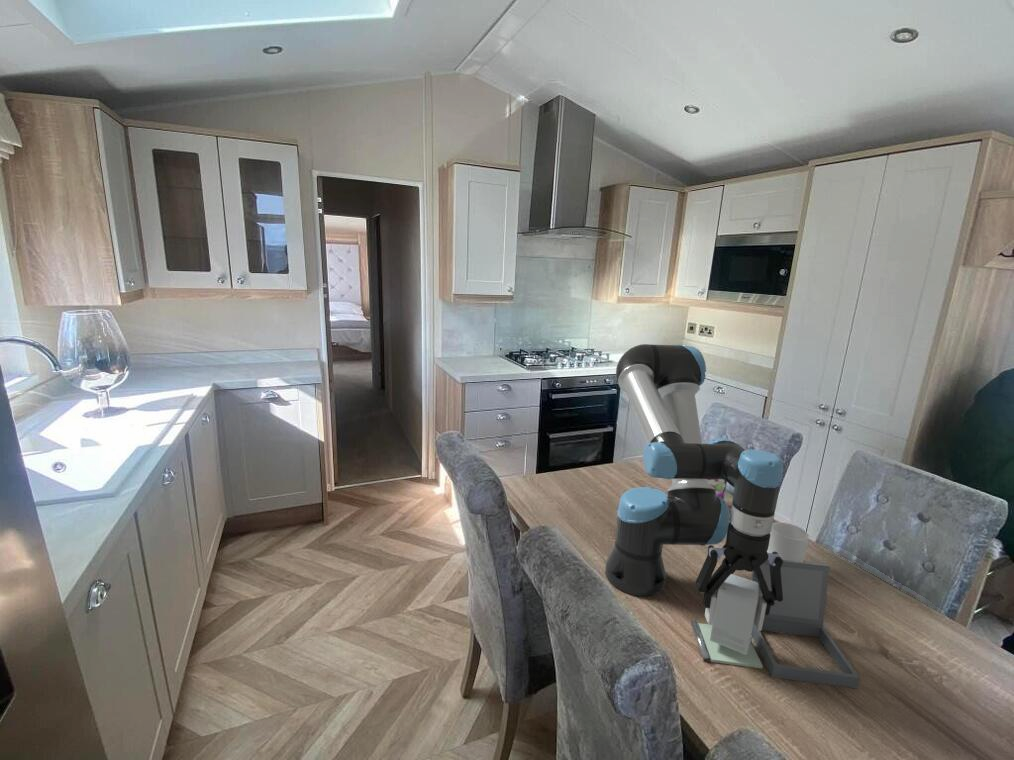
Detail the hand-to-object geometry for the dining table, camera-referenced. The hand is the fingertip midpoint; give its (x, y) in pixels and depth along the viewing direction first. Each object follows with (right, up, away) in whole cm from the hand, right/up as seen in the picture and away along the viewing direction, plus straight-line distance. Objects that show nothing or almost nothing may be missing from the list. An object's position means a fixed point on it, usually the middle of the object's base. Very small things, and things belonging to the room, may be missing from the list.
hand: (732, 622), depth 98 cm
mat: (0, -6, +1) cm, 6 cm away
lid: (+15, +4, +5) cm, 16 cm away
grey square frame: (+14, -7, 0) cm, 15 cm away
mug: (+30, 0, +30) cm, 42 cm away
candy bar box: (+20, +8, +61) cm, 64 cm away
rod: (-6, -5, +2) cm, 8 cm away
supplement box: (0, -4, +1) cm, 4 cm away
